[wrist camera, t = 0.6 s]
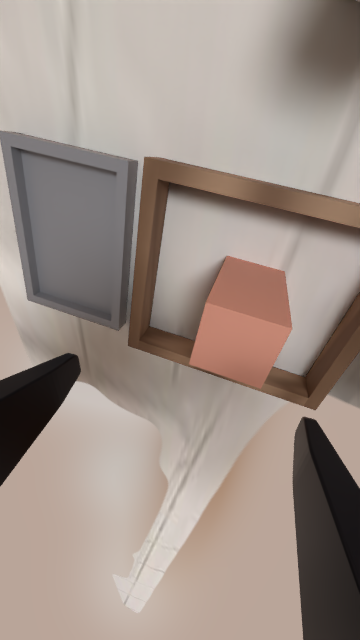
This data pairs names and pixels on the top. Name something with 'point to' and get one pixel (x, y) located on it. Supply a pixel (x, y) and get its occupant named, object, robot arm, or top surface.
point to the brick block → (243, 322)
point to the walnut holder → (356, 326)
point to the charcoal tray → (72, 225)
